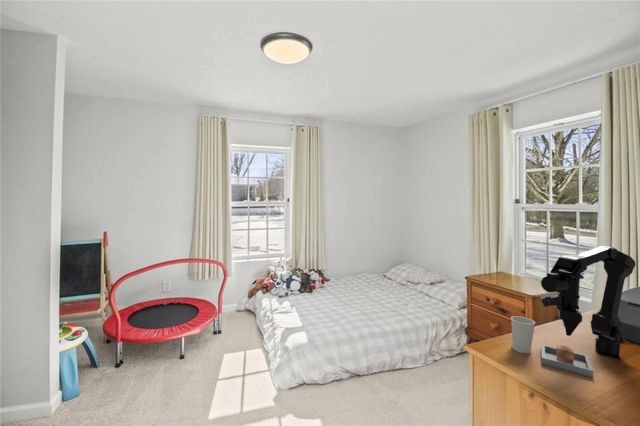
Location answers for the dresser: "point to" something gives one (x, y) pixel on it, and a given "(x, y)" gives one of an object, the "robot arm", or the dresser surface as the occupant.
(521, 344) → the cup
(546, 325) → the dresser surface
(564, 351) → the block
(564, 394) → the dresser surface
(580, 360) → the tray
